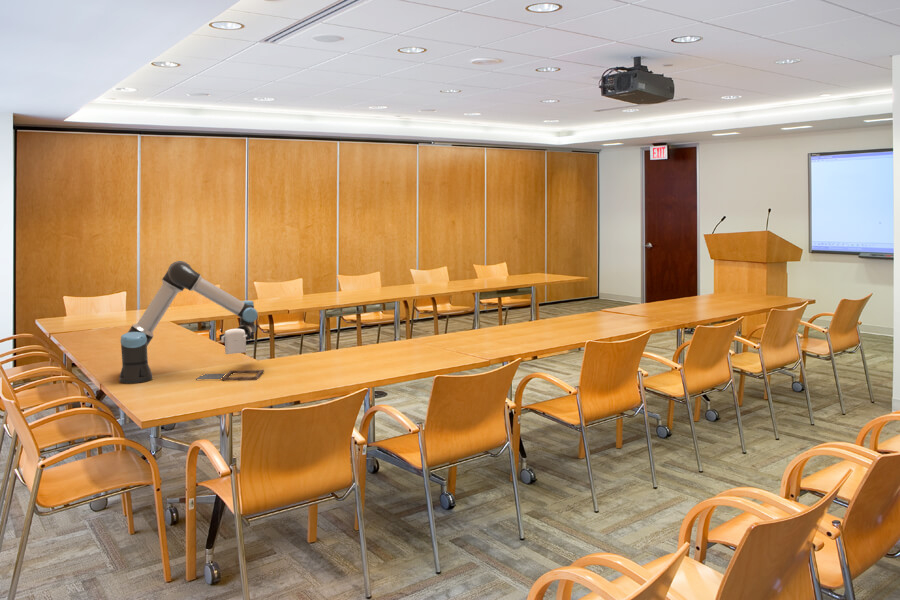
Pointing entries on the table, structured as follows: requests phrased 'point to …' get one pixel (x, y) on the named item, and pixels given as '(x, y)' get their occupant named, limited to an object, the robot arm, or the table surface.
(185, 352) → the table surface
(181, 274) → the robot arm
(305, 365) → the table surface
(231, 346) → the photo printer
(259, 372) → the walnut frame
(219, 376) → the rubber mat
